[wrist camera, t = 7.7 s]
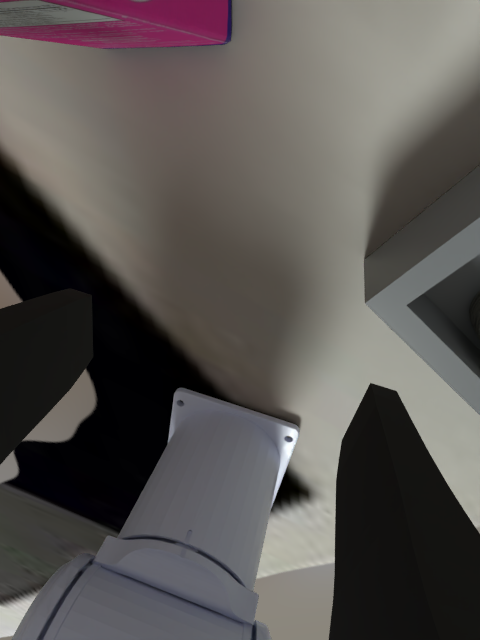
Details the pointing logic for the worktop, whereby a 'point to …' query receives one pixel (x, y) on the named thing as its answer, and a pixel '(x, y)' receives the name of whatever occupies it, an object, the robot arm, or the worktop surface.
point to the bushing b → (475, 314)
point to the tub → (434, 286)
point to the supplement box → (119, 22)
